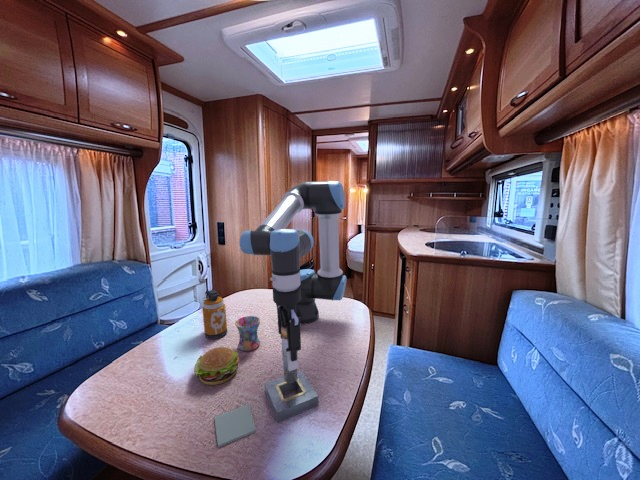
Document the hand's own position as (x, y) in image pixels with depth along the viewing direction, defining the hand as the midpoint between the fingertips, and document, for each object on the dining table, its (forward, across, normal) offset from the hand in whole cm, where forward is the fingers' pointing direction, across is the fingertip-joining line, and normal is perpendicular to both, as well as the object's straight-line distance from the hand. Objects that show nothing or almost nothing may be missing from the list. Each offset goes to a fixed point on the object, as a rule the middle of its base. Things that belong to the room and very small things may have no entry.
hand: (290, 364), depth 73 cm
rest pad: (+11, +2, -16) cm, 20 cm away
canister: (+12, -50, -16) cm, 53 cm away
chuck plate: (+11, 0, 0) cm, 11 cm away
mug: (+11, -34, -4) cm, 36 cm away
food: (+11, -22, -18) cm, 30 cm away
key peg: (+5, 0, 0) cm, 5 cm away
